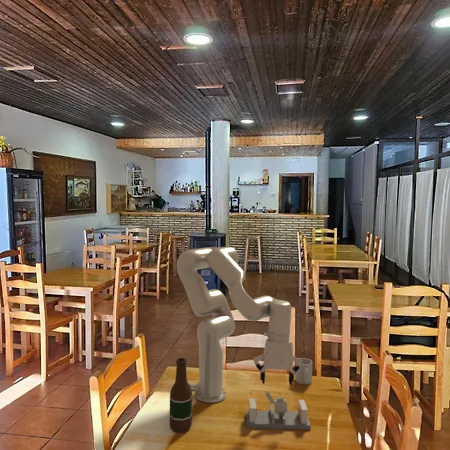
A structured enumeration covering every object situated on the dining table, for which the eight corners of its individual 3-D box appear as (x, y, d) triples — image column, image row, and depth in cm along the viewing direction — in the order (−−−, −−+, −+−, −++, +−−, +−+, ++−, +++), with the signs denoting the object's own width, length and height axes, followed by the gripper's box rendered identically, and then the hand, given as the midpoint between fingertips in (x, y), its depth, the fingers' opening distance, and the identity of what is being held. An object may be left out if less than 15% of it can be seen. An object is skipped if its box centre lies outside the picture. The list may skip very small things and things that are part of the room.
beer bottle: (182, 436, 135) (183, 365, 134) (164, 428, 139) (165, 360, 138) (196, 425, 142) (197, 358, 140) (179, 418, 146) (179, 353, 144)
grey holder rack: (247, 427, 141) (247, 409, 140) (246, 414, 150) (246, 397, 149) (310, 429, 140) (311, 411, 140) (305, 415, 149) (306, 398, 149)
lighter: (286, 409, 146) (284, 388, 145) (287, 412, 144) (285, 390, 144) (267, 412, 146) (264, 391, 145) (267, 415, 144) (265, 393, 143)
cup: (309, 377, 182) (310, 358, 181) (314, 388, 172) (315, 367, 171) (293, 377, 182) (294, 357, 181) (297, 387, 172) (298, 367, 171)
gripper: (255, 338, 139) (252, 386, 141) (305, 341, 139) (302, 389, 141) (254, 331, 147) (252, 376, 148) (301, 333, 147) (299, 379, 148)
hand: (276, 382), depth 144 cm, fingers open, 9 cm apart
